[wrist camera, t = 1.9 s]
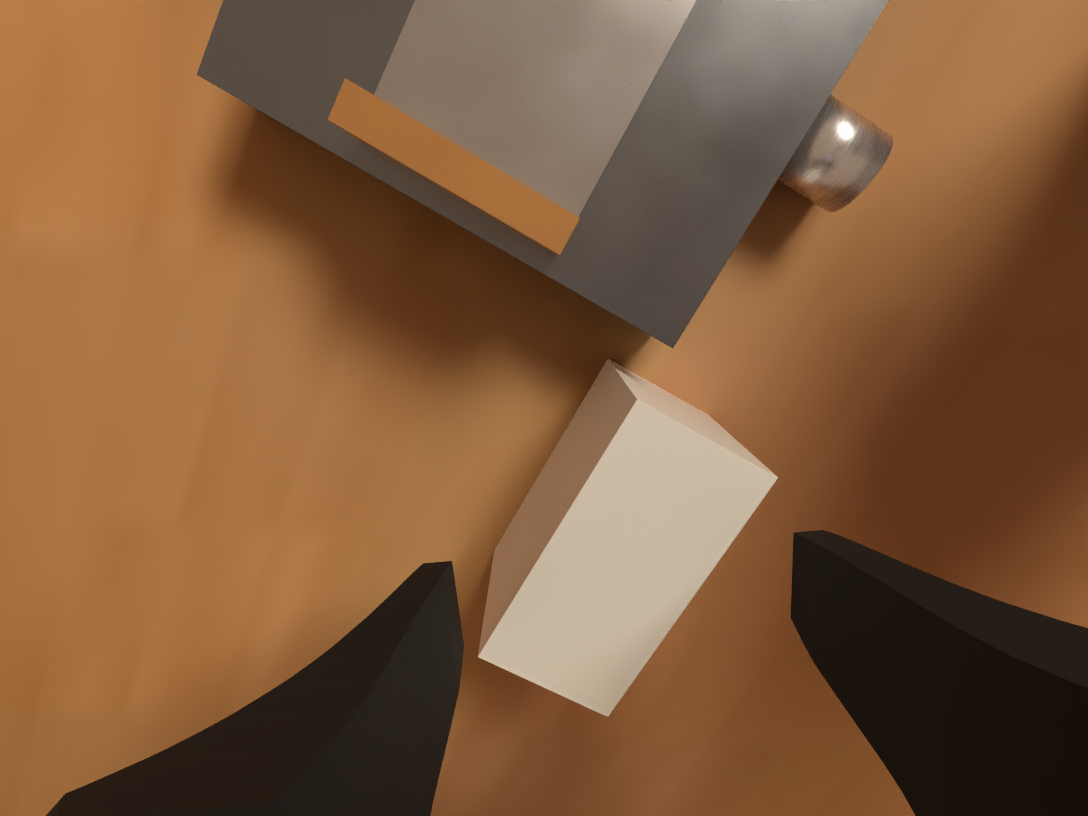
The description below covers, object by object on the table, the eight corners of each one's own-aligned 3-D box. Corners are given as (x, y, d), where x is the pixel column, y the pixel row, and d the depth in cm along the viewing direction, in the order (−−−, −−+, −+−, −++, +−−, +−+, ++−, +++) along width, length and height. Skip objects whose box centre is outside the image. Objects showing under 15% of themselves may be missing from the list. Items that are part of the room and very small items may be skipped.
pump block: (707, 414, 16) (778, 477, 12) (589, 594, 18) (607, 716, 13) (607, 357, 16) (637, 399, 11) (494, 548, 18) (477, 656, 13)
